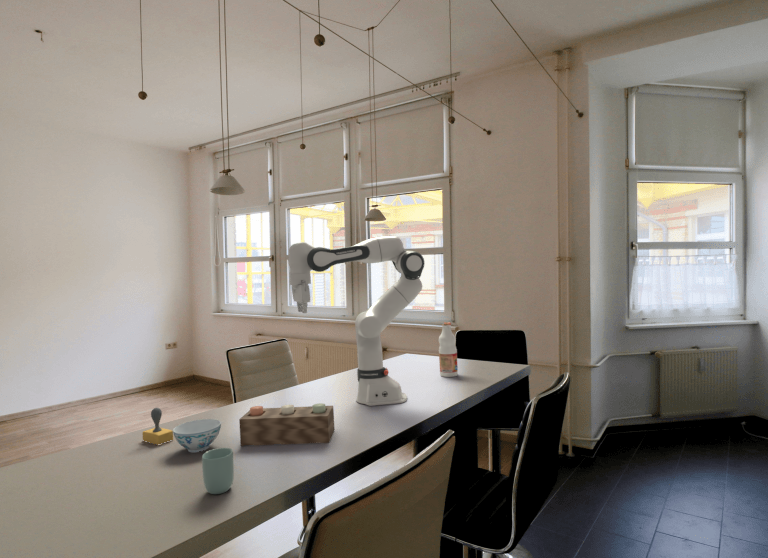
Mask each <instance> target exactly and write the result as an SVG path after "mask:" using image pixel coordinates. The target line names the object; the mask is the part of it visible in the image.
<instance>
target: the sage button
mask: <svg viewBox="0 0 768 558" xmlns="http://www.w3.org/2000/svg"><path fill="white" fill-rule="evenodd" d="M311 406H312V407H313V413H325V412H326V410H325V406H326V404H325V403H314V404H313V405H311Z"/></svg>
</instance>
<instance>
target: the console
mask: <svg viewBox="0 0 768 558" xmlns="http://www.w3.org/2000/svg"><path fill="white" fill-rule="evenodd" d="M312 406H313V405H311V406H294V414H284V415H281V407H266V408H265V407H263V414H262V415H259V416H250V409H249V410H248V411H247V412H246V413H244V415H243V416H242V417H240V418H239V436H240V437H239V438H240V446H241V447H245V446H244V445H254V446H273V445H274V444H281V445H297V444H298V445H303V444H306V445H308V444H329V443H330V442H331V439H332V437H333V435H334V433H335V431H334V430H335V413H334V411H335V410H334V405H325V410H326V412H325V413H313V407H312ZM274 446H275V445H274Z"/></svg>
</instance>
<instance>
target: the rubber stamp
mask: <svg viewBox="0 0 768 558" xmlns="http://www.w3.org/2000/svg"><path fill="white" fill-rule="evenodd" d="M162 412H163V411H162V409H161V408H159V407H154V408H153V409H152V410H151V412H150V417H151V419H152V421H153V423H154V427H153V428H150V429H147V430H144V431H142V441H143V440H144V441H147V442H150V443H149V444H151V443H153V444H152V445H155V444H157V445H156V446H158V444H161V443H164V442H167V441H170V440H173V441H174V433H173V429H169V428H163V427H160V422H161V418H162V416H163V414H162ZM144 441H143V442H144ZM147 442H146V443H147Z"/></svg>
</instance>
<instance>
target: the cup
mask: <svg viewBox="0 0 768 558" xmlns="http://www.w3.org/2000/svg"><path fill="white" fill-rule="evenodd" d="M234 464H235V463H234V451H233V449H232V448H228V447H220V448H213V449H210V450H207V451H205V452H204V453H203V454H202V456H201V470H202V471H201V473H202V479H203V484H204V488H205V490H206V492H207V493H209V494H211V495H221V494H224V493H225V492H228V491H229V490H230V489H231V487H232V485H233V482H234V478H235V477H234V476H235V467H234V466H235V465H234Z"/></svg>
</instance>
